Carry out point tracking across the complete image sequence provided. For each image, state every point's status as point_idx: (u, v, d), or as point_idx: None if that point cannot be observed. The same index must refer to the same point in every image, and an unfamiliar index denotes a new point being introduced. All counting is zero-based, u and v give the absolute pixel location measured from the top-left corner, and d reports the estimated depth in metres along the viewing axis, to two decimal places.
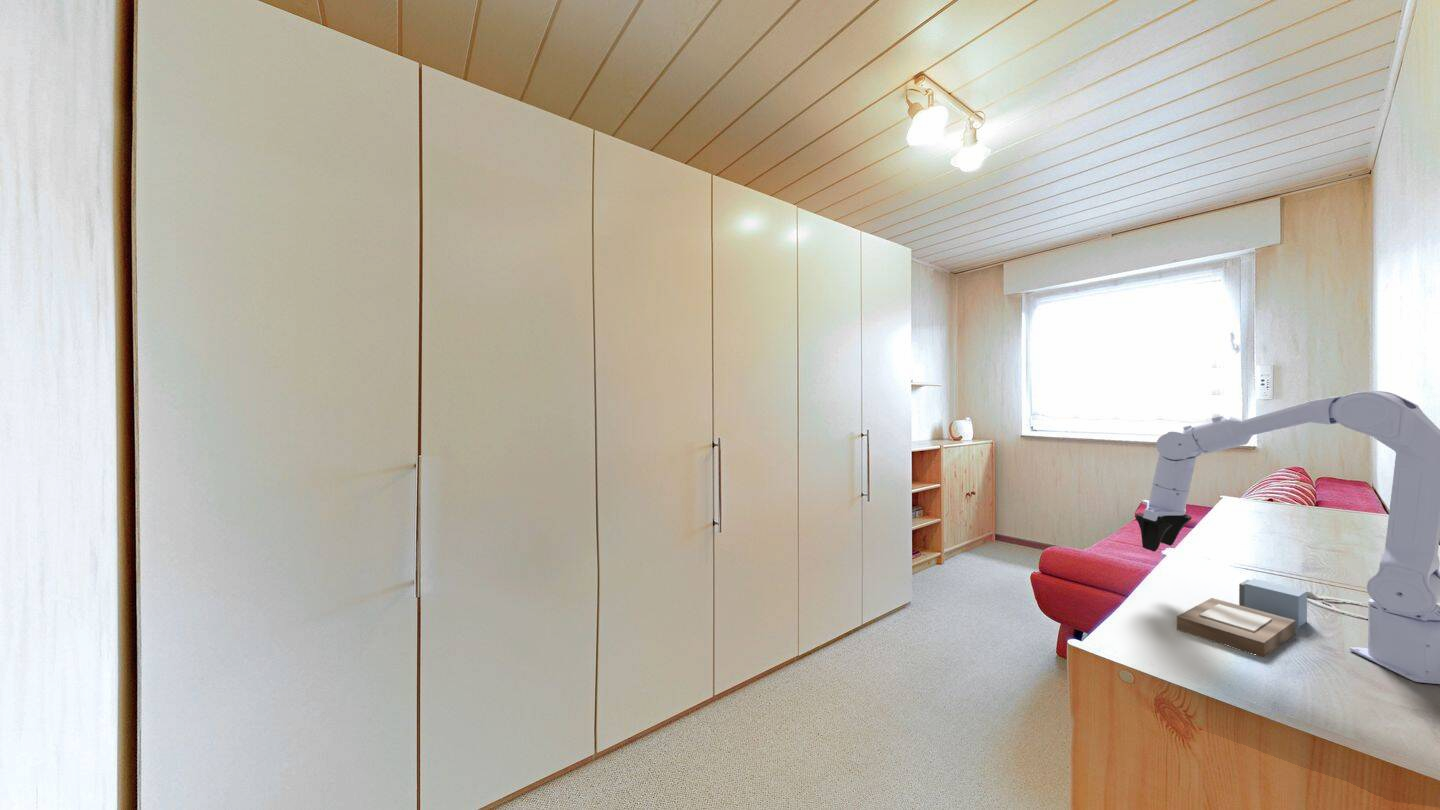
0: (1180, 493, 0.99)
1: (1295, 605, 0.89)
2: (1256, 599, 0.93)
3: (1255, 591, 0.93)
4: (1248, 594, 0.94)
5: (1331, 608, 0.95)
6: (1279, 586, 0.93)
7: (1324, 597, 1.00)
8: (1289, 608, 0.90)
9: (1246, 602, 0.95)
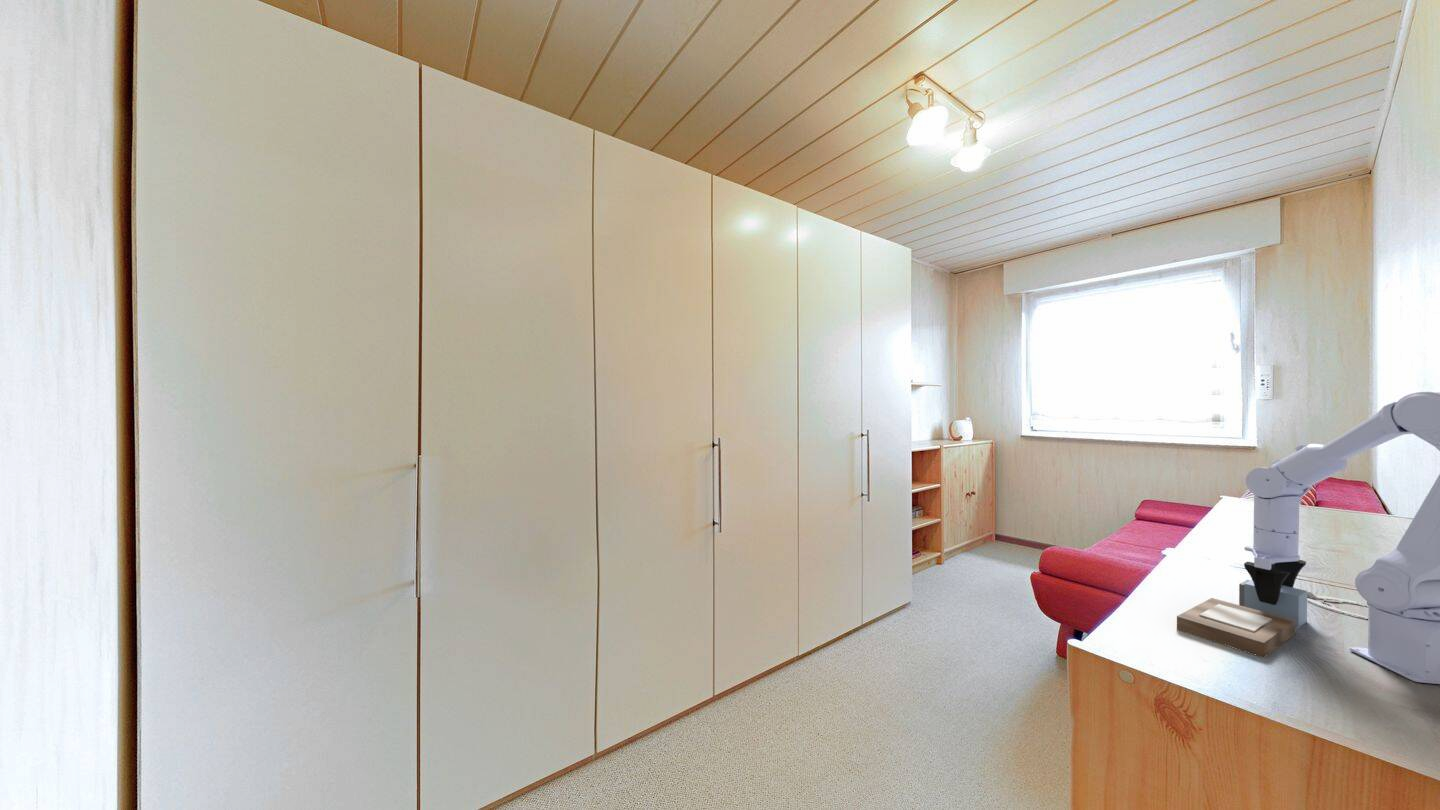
0: (1290, 536, 0.90)
1: (1295, 605, 0.89)
2: (1256, 599, 0.93)
3: (1255, 591, 0.93)
4: (1248, 594, 0.94)
5: (1331, 608, 0.95)
6: None
7: (1324, 597, 1.00)
8: (1289, 608, 0.90)
9: (1246, 602, 0.95)
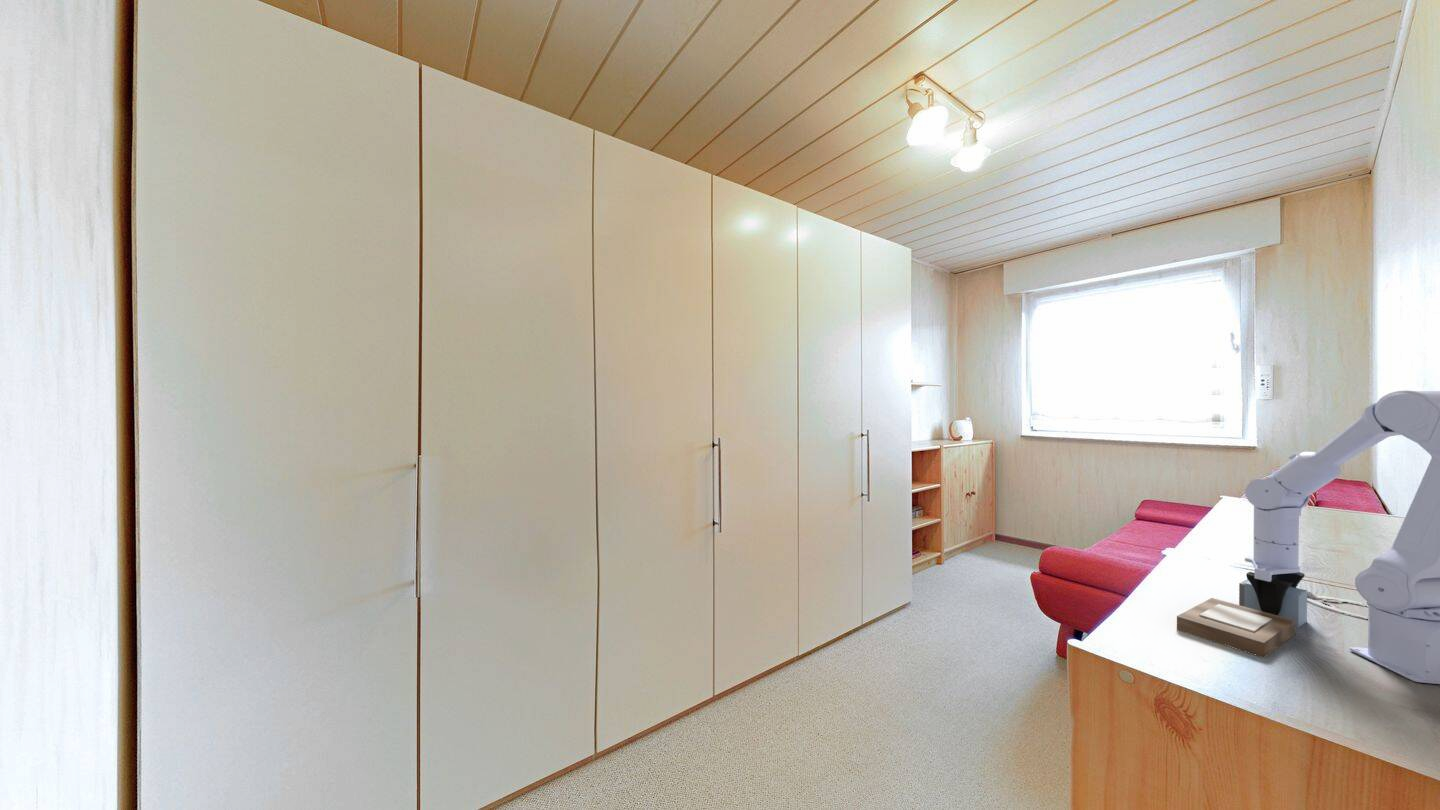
0: (1290, 547, 0.90)
1: (1295, 605, 0.89)
2: (1256, 599, 0.93)
3: None
4: (1248, 594, 0.94)
5: (1330, 608, 0.96)
6: None
7: (1323, 597, 1.00)
8: (1289, 608, 0.90)
9: (1246, 602, 0.95)
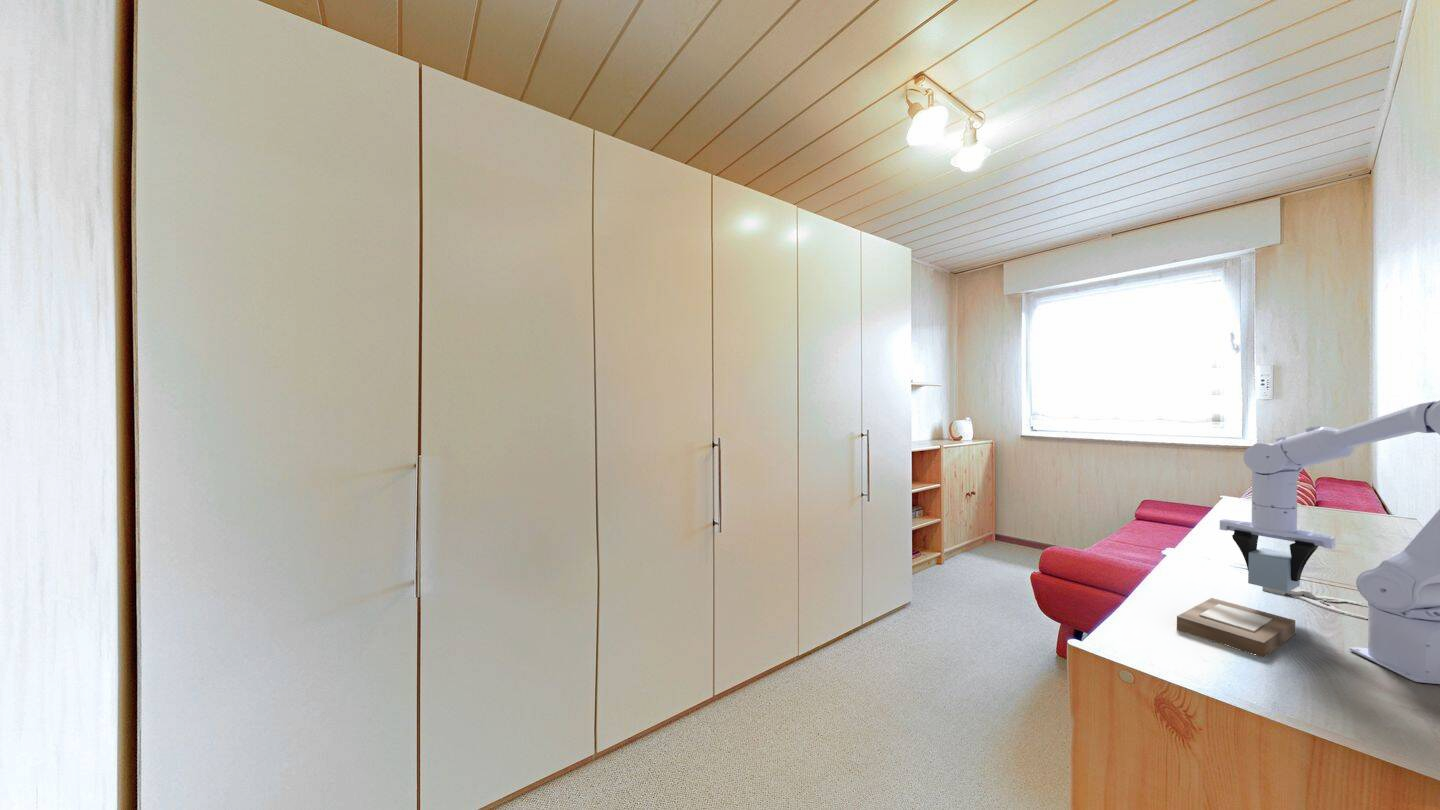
0: (1256, 507, 0.93)
1: (1249, 561, 0.93)
2: None
3: None
4: None
5: (1330, 608, 0.96)
6: (1281, 555, 0.91)
7: (1323, 597, 1.00)
8: None
9: None
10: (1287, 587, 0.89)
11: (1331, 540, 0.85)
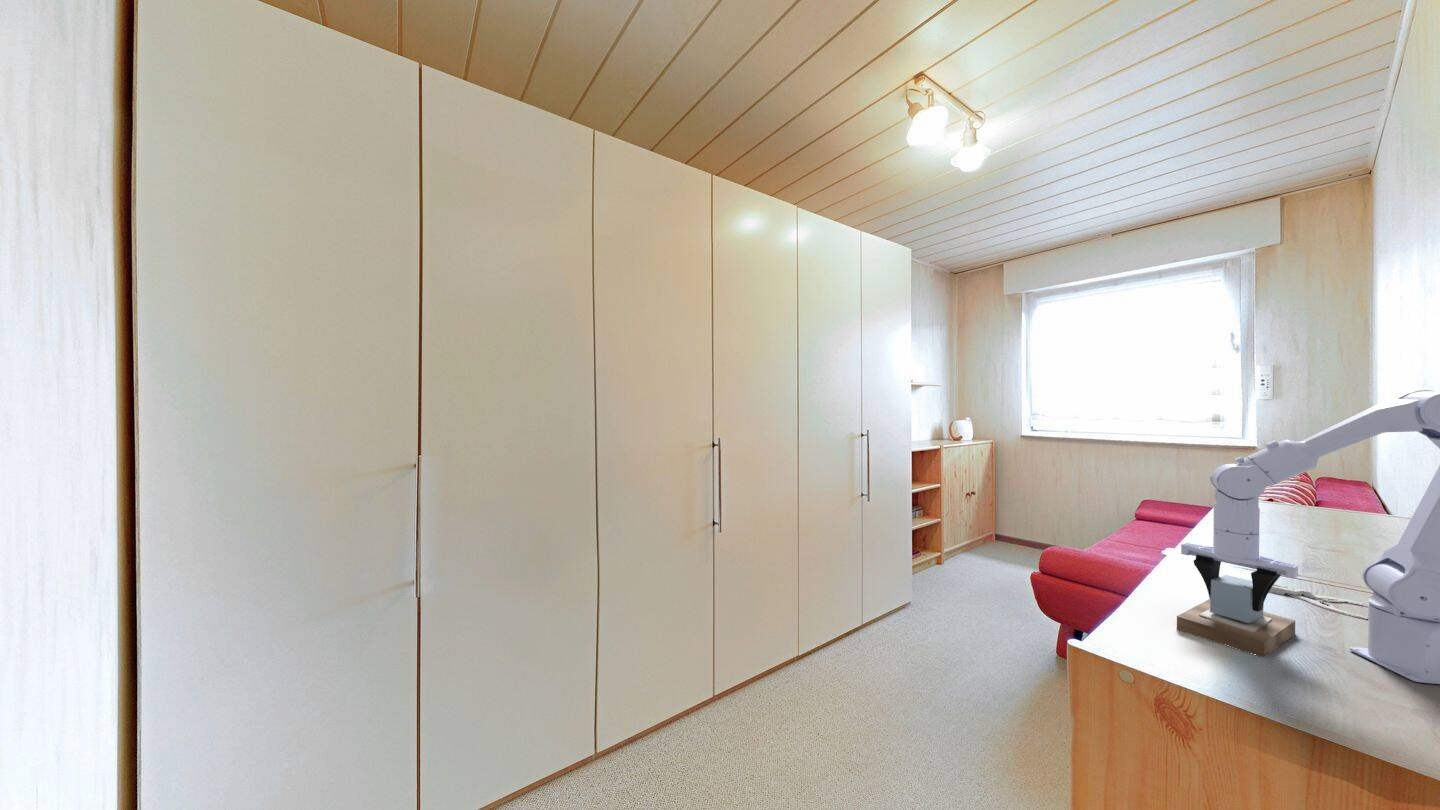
0: (1218, 532, 0.88)
1: (1211, 589, 0.89)
2: None
3: None
4: None
5: (1329, 607, 0.96)
6: (1244, 583, 0.87)
7: (1322, 597, 1.01)
8: None
9: None
10: (1249, 618, 0.84)
11: (1293, 569, 0.81)
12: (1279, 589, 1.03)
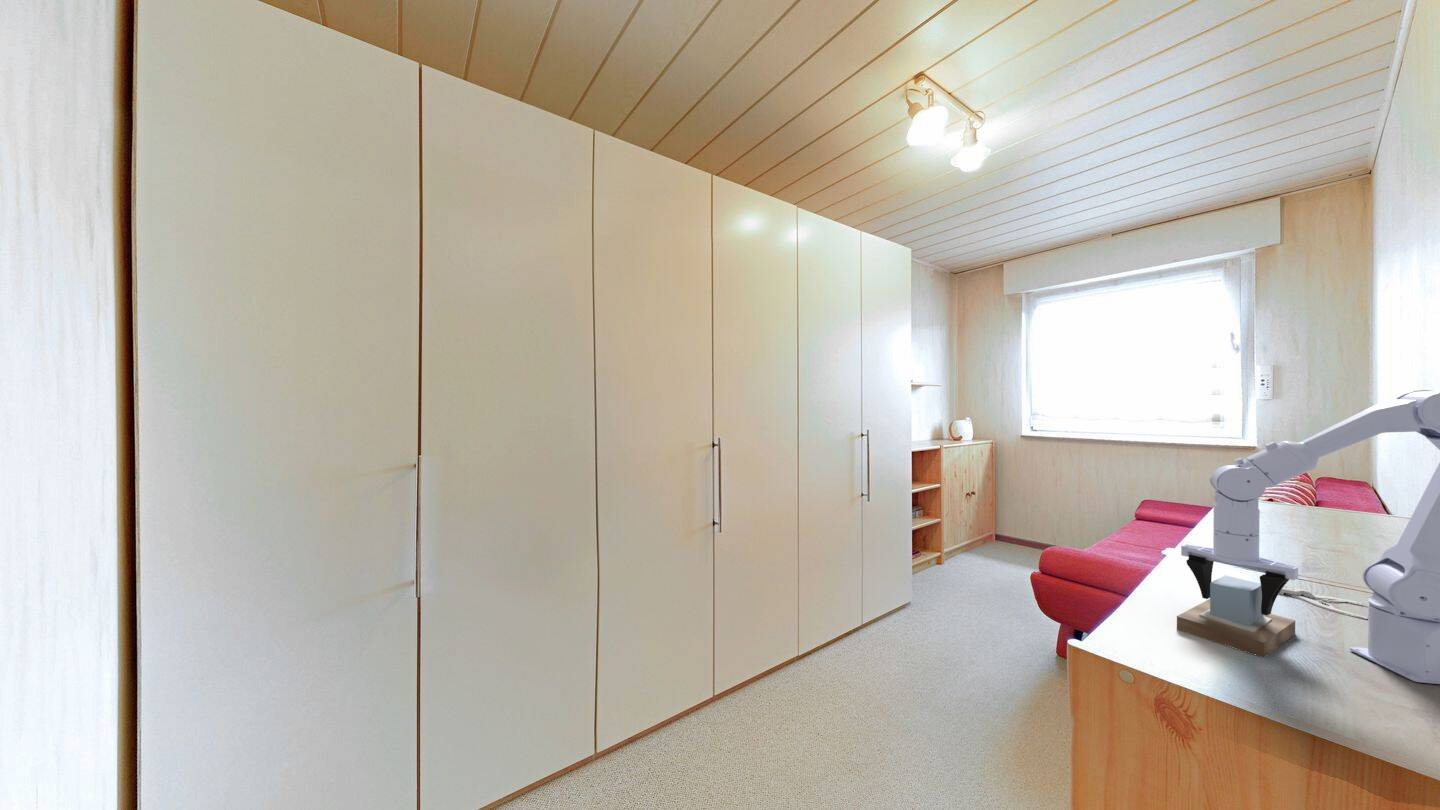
0: (1218, 534, 0.88)
1: (1210, 592, 0.89)
2: None
3: None
4: None
5: (1329, 607, 0.96)
6: (1243, 585, 0.87)
7: (1322, 596, 1.01)
8: None
9: None
10: (1249, 620, 0.84)
11: (1293, 571, 0.81)
12: None
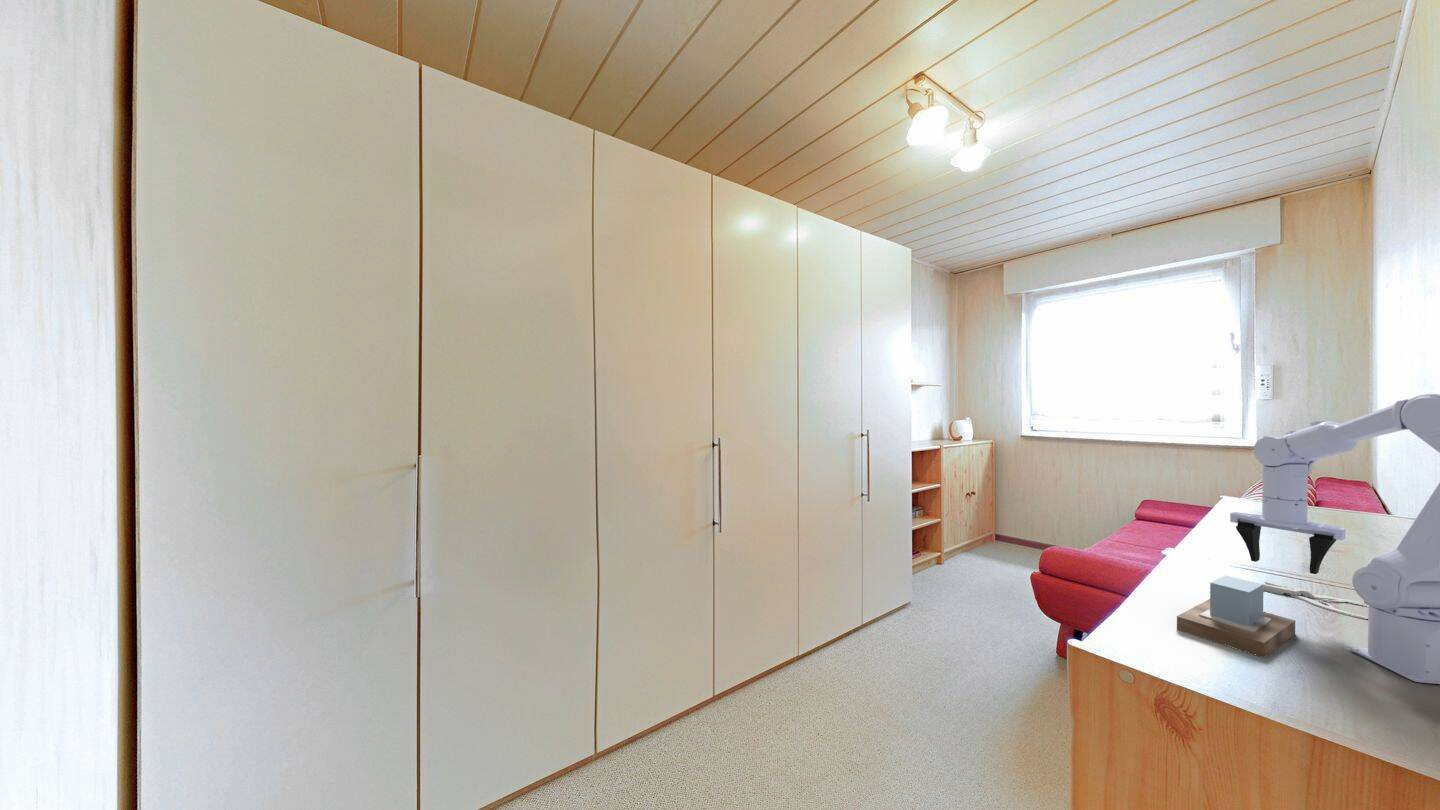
0: (1267, 500, 0.94)
1: (1210, 592, 0.89)
2: None
3: None
4: None
5: (1328, 607, 0.96)
6: (1243, 585, 0.87)
7: (1321, 596, 1.01)
8: None
9: None
10: (1249, 620, 0.84)
11: (1342, 531, 0.87)
12: (1278, 589, 1.03)
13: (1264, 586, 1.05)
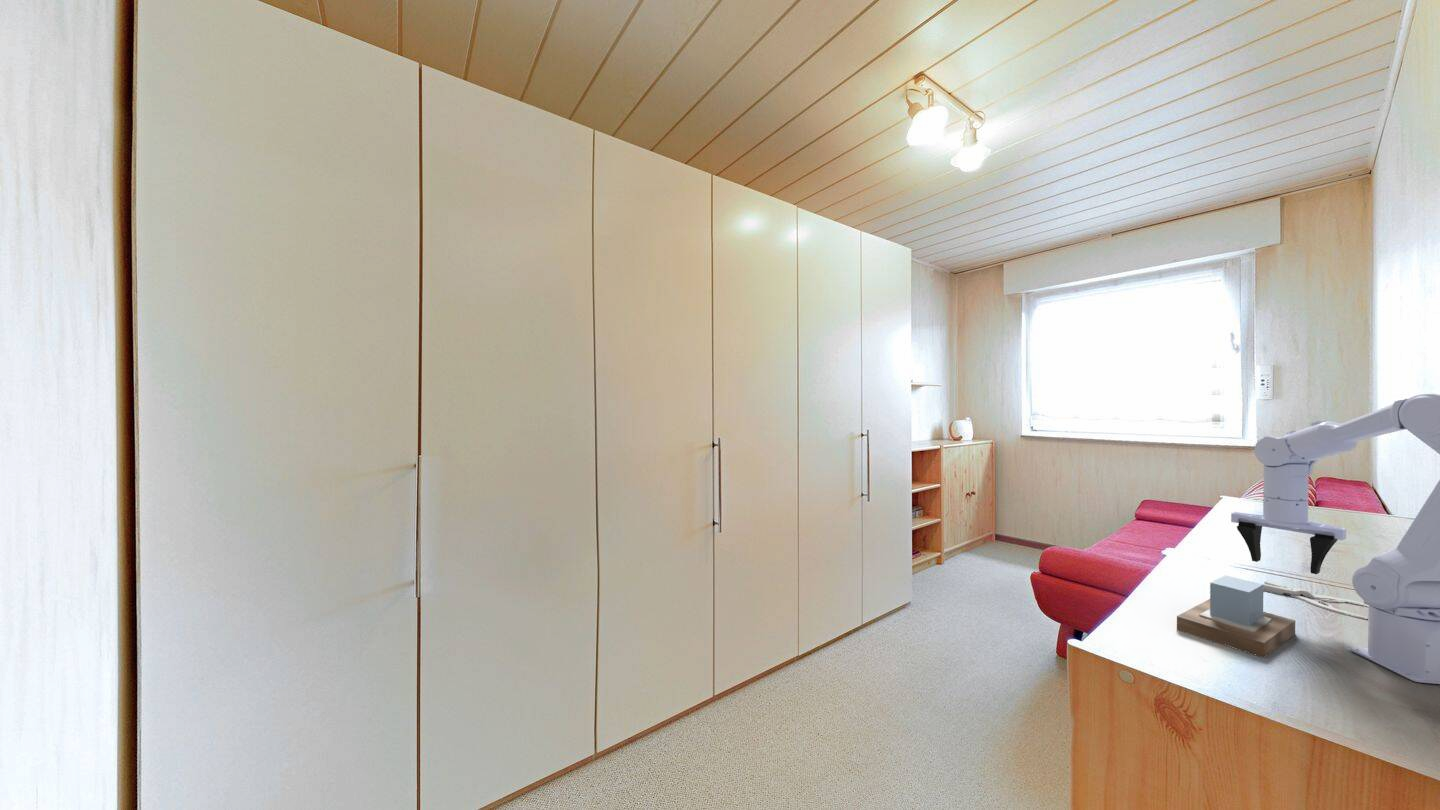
0: (1268, 500, 0.94)
1: (1210, 592, 0.89)
2: None
3: None
4: None
5: (1328, 607, 0.96)
6: (1243, 585, 0.87)
7: (1321, 596, 1.01)
8: None
9: None
10: (1249, 620, 0.84)
11: (1342, 531, 0.87)
12: (1278, 589, 1.03)
13: (1264, 586, 1.05)
